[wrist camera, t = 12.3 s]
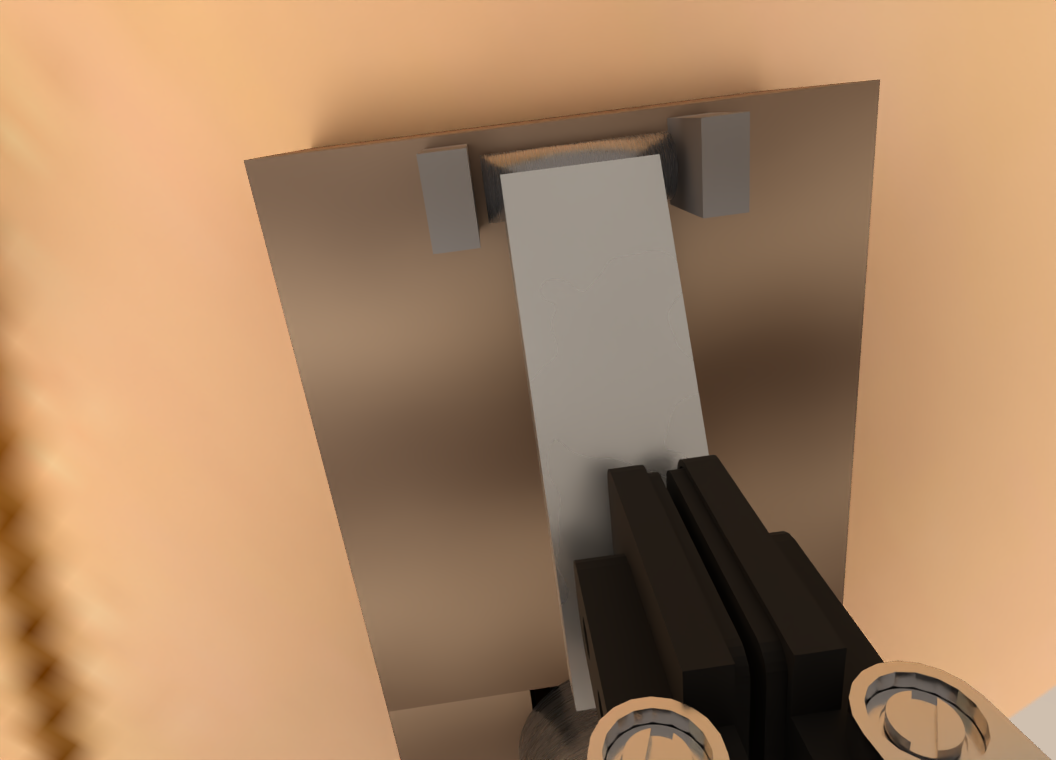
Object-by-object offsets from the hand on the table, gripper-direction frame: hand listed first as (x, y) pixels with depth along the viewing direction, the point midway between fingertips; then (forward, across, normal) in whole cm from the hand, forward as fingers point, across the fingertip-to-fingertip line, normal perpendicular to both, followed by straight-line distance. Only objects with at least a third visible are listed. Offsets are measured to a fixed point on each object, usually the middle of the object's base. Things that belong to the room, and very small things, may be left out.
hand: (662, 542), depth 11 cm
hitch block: (+10, 0, +5) cm, 11 cm away
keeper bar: (+3, 0, -1) cm, 3 cm away
